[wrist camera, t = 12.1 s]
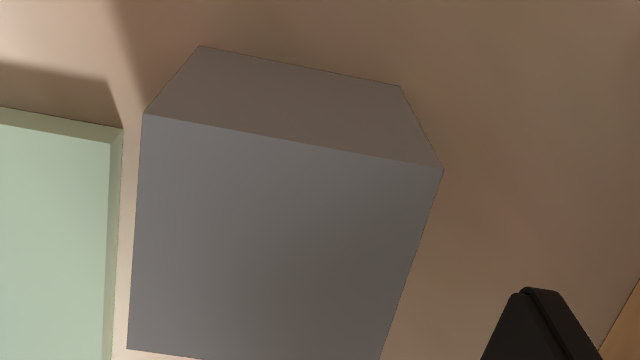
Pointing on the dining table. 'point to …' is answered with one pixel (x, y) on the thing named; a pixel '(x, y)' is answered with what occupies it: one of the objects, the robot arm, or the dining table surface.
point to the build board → (57, 236)
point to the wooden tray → (625, 332)
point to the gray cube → (275, 212)
